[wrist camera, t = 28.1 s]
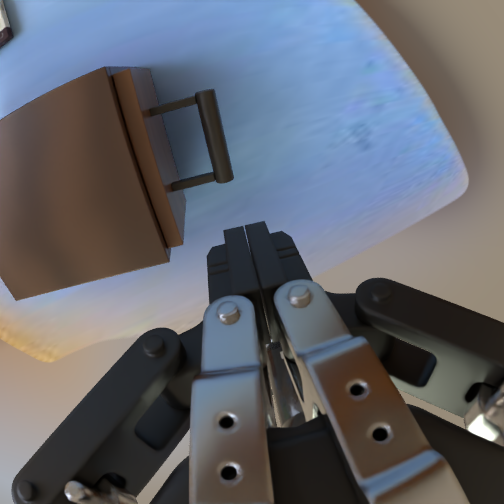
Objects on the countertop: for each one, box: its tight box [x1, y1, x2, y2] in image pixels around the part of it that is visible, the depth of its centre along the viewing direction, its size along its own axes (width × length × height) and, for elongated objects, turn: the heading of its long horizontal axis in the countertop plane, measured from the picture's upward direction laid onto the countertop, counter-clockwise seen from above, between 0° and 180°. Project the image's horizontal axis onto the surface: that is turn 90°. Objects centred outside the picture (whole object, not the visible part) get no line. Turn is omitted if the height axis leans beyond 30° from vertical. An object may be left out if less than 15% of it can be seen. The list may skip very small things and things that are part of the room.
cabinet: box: [0, 67, 171, 301], centre depth 22 cm, size 16×14×10 cm
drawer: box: [112, 68, 234, 248], centre depth 22 cm, size 19×13×8 cm
